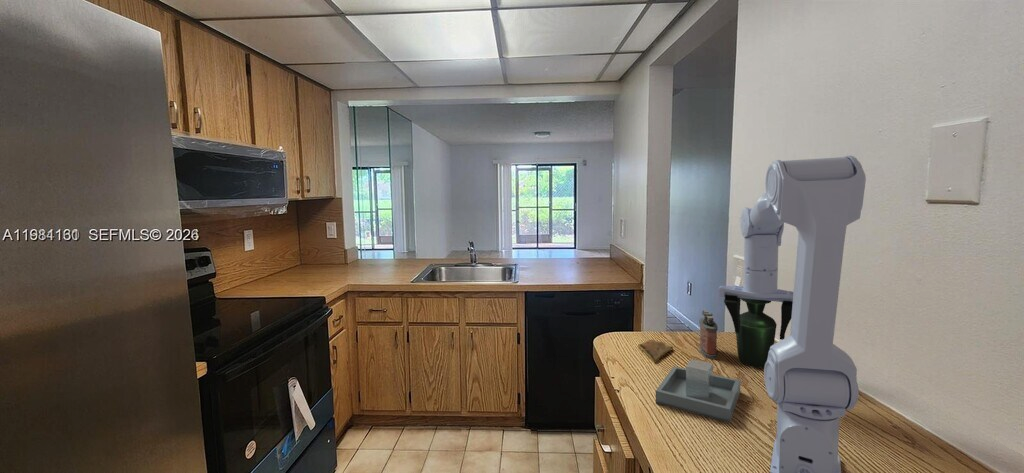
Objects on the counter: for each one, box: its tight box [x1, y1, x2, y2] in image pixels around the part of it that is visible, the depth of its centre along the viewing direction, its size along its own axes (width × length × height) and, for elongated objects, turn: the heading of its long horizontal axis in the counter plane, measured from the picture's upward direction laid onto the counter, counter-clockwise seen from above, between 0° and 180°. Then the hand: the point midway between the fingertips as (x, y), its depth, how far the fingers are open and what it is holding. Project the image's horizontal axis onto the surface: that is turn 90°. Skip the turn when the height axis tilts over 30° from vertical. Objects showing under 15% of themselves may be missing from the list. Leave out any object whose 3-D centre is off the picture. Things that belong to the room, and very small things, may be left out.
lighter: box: [698, 309, 718, 360], centre depth 99 cm, size 8×3×10 cm, turn 168°
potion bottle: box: [735, 298, 777, 369], centre depth 92 cm, size 8×8×18 cm
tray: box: [655, 366, 742, 424], centre depth 78 cm, size 13×13×2 cm
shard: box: [637, 339, 674, 364], centre depth 101 cm, size 11×8×2 cm
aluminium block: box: [685, 358, 714, 402], centre depth 78 cm, size 4×4×6 cm
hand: (759, 334), depth 82 cm, fingers open, 7 cm apart
